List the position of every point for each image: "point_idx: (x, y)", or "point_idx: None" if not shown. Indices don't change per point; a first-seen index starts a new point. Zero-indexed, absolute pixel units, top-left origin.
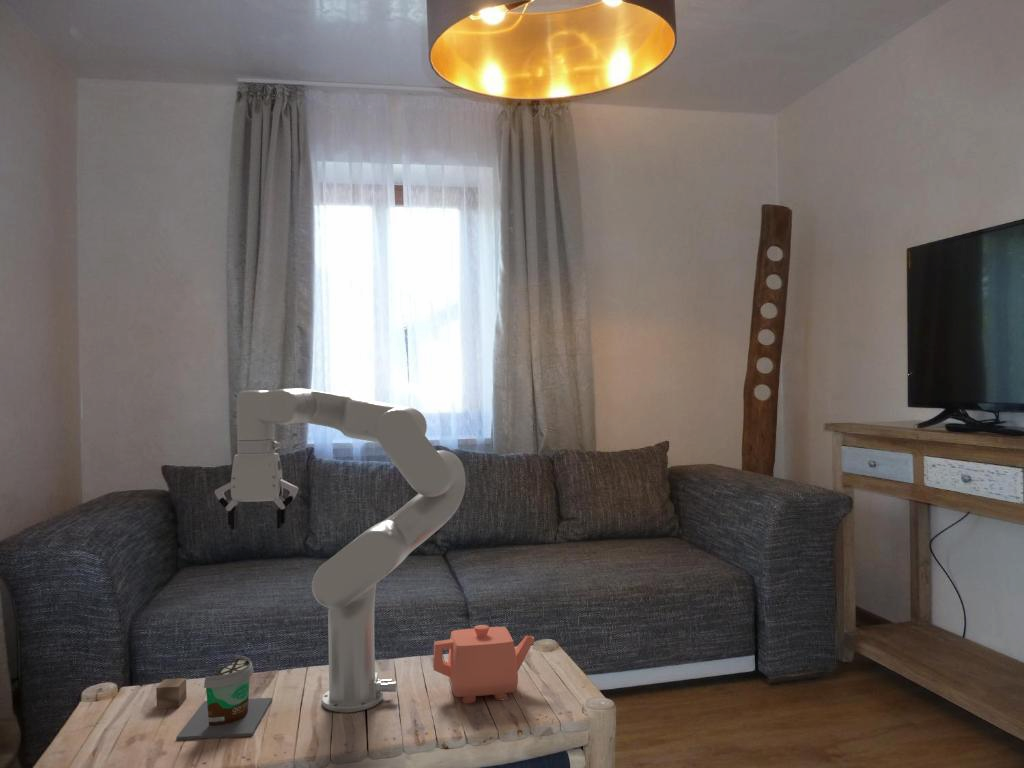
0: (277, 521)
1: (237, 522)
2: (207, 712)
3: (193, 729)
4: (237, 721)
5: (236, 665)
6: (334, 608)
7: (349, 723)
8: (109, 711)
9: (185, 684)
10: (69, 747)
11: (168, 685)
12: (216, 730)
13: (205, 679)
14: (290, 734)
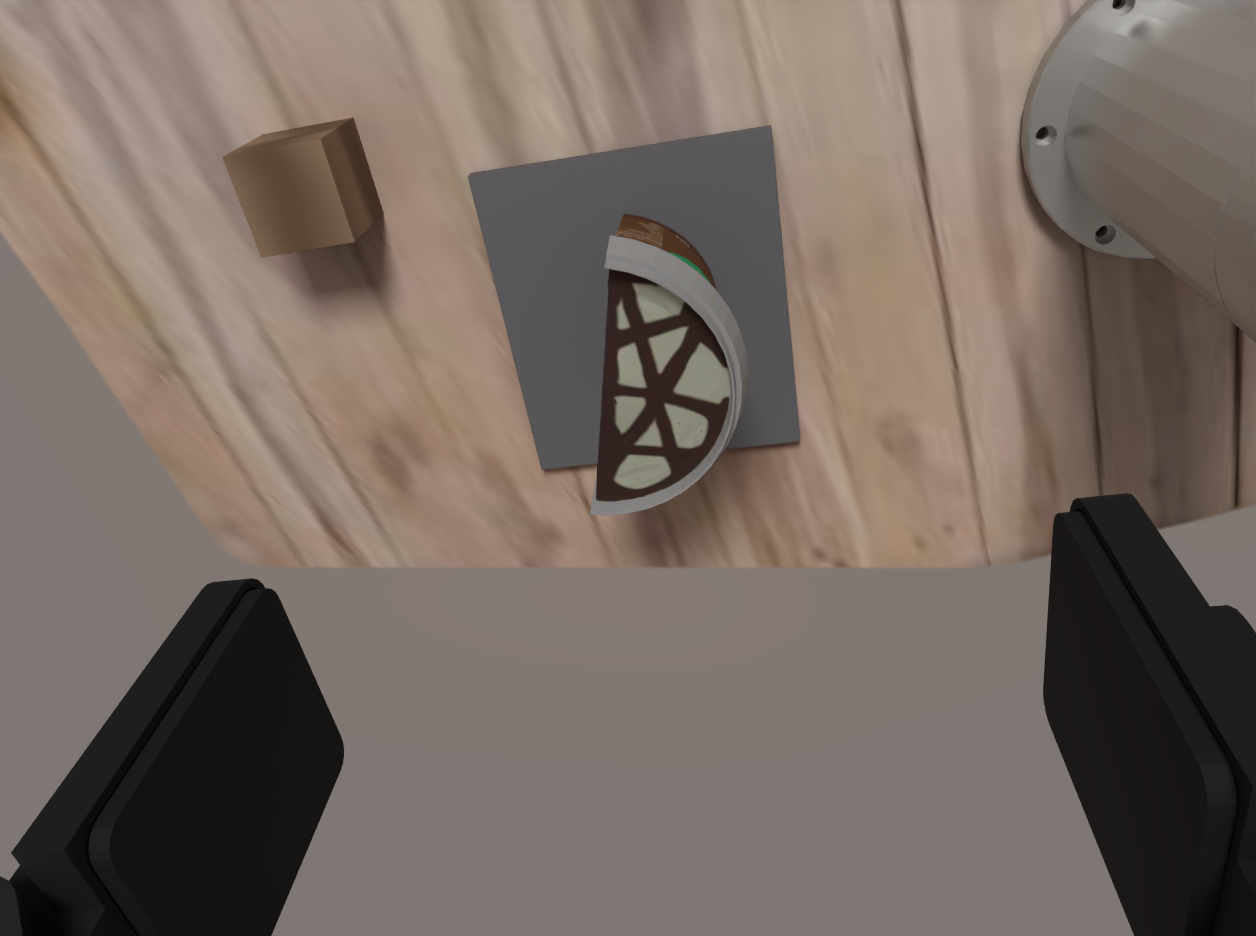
0: (1089, 801)
1: (250, 663)
2: (545, 286)
3: (570, 420)
4: None
5: (651, 342)
6: None
7: (1163, 335)
8: (124, 255)
9: (333, 144)
10: (228, 506)
11: (297, 230)
12: None
13: (592, 507)
14: (937, 421)
